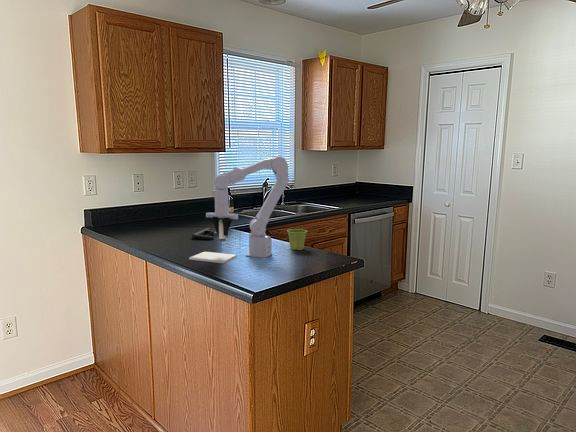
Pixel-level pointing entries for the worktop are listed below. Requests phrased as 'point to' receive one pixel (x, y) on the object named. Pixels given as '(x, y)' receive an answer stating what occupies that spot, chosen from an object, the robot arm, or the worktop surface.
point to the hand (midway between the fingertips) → (222, 234)
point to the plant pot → (297, 238)
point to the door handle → (205, 234)
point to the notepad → (213, 257)
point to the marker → (221, 232)
